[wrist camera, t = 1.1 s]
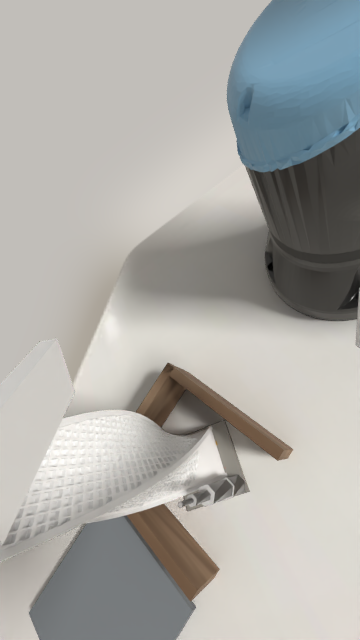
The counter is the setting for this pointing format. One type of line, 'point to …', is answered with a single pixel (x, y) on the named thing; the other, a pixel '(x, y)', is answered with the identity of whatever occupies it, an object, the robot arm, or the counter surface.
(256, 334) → the counter surface
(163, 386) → the walnut bay
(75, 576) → the slate mat
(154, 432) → the twisted skyscraper model
